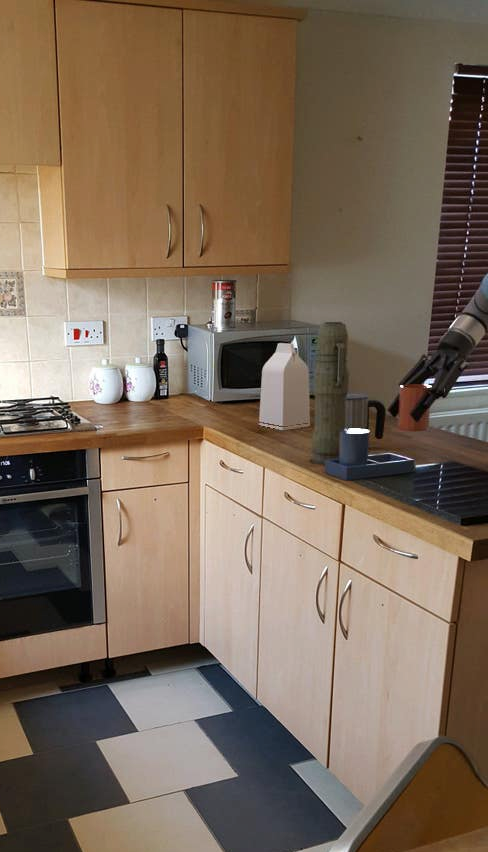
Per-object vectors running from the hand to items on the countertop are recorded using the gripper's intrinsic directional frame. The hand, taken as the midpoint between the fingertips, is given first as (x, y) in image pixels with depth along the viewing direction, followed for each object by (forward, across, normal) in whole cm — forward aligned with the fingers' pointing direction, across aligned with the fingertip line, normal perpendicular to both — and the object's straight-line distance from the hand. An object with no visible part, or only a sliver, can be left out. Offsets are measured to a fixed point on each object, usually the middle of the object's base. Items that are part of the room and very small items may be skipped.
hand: (402, 415), depth 205 cm
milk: (-3, +78, -24) cm, 82 cm away
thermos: (+12, +25, -9) cm, 29 cm away
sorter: (+12, +8, -8) cm, 17 cm away
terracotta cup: (0, 0, -5) cm, 5 cm away
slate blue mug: (+15, +8, -5) cm, 18 cm away
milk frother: (0, +38, -21) cm, 43 cm away
